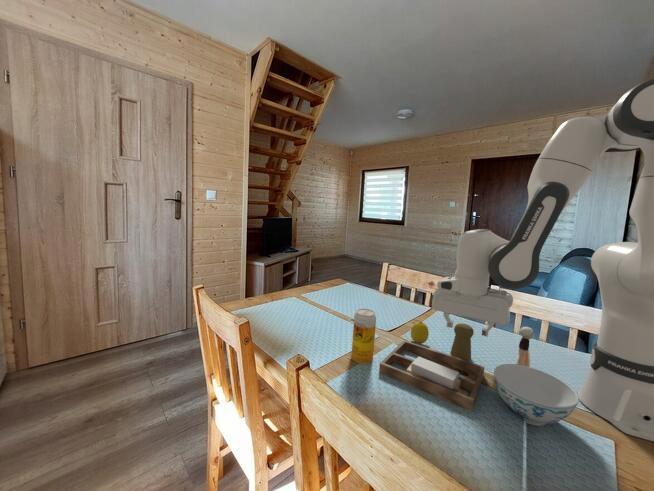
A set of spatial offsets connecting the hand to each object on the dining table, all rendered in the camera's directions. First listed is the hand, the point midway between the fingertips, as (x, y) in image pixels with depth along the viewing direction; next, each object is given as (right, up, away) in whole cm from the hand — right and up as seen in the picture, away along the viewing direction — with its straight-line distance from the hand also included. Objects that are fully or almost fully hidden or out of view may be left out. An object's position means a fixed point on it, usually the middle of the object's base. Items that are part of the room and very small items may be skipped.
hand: (466, 331), depth 83 cm
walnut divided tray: (-14, -10, -9) cm, 19 cm away
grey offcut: (-15, -7, -14) cm, 21 cm away
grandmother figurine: (+15, -11, -1) cm, 19 cm away
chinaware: (+4, -13, -20) cm, 24 cm away
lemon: (-11, -8, +10) cm, 17 cm away
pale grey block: (-15, -9, -13) cm, 22 cm away
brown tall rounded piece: (-1, -9, +2) cm, 10 cm away
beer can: (-31, -8, -2) cm, 32 cm away
